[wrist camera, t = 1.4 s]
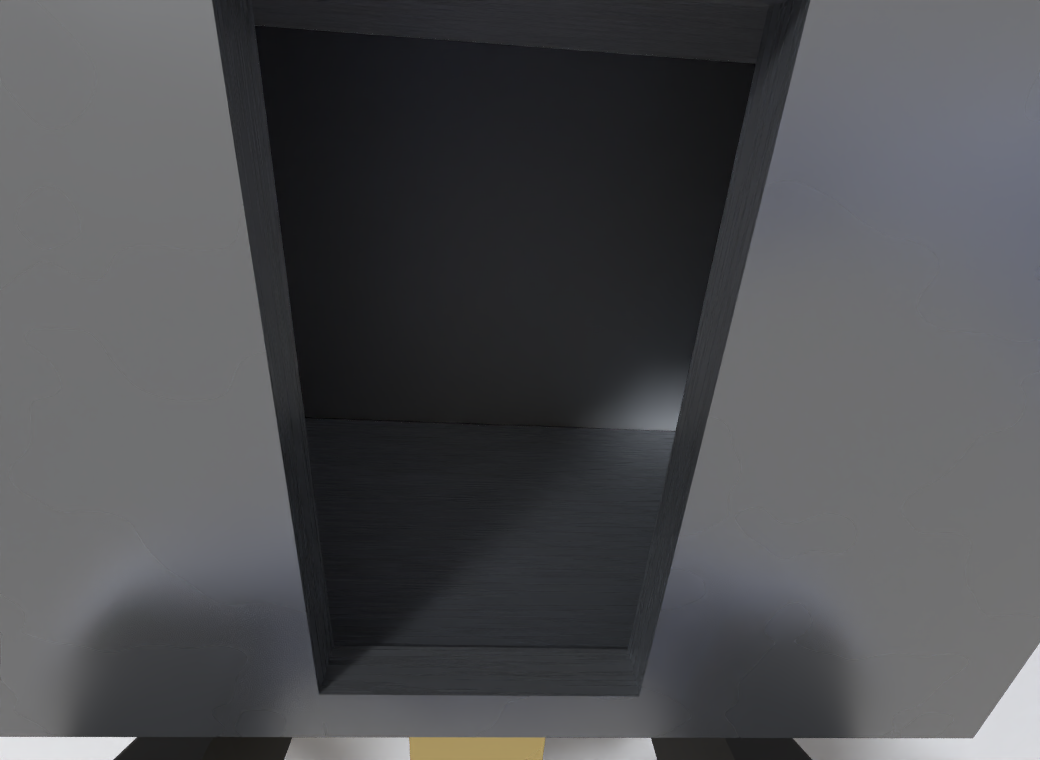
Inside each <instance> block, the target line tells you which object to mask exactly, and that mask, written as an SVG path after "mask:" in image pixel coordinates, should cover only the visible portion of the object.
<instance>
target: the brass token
mask: <svg viewBox="0 0 1040 760" xmlns="http://www.w3.org/2000/svg"><path fill="white" fill-rule="evenodd" d="M409 741H410V760H542V759H543V752H544V744H545V737H409Z"/></svg>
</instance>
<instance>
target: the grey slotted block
mask: <svg viewBox="0 0 1040 760" xmlns="http://www.w3.org/2000/svg"><path fill="white" fill-rule="evenodd" d="M255 26H267V27H280V28H293V29H306V30H319V31H332V32H346V33H359V34H372V35H385V36H398V37H411V38H424V39H437V40H450V41H463V42H476V43H489V44H502V45H516V46H529V47H542V48H555V49H568V50H581V51H594V52H607V53H620V54H633V55H646V56H659V57H673V58H686V59H699V60H712V61H725V62H738V63H751V64H756V66H755V70H754V75H753V79H752V84H751V88H750V93H749V98H748V102H747V107H746V111H745V116H744V120H743V125H742V130H741V134H740V139H739V143H738V148H737V152H736V157H735V162H734V166H733V171H732V175H731V180H730V184H729V189H728V194H727V198H726V203H725V207H724V212H723V216H722V221H721V226H720V230H719V235H718V239H717V244H716V248H715V253H714V258H713V262H712V267H711V271H710V276H709V281H708V285H707V290H706V294H705V299H704V303H703V308H702V313H701V317H700V322H699V326H698V331H697V335H696V340H695V345H694V349H693V354H692V358H691V363H690V367H689V372H688V377H687V381H686V386H685V390H684V395H683V399H682V404H681V409H680V413H679V418H678V422H677V427H676V431H656V430H627V429H599V428H571V427H542V426H514V425H486V424H458V423H429V422H401V421H373V420H344V419H316V418H305V416H304V409H303V401H302V393H301V385H300V377H299V369H298V361H297V354H296V346H295V338H294V330H293V322H292V314H291V306H290V299H289V291H288V283H287V275H286V267H285V259H284V252H283V244H282V236H281V228H280V220H279V212H278V204H277V197H276V189H275V181H274V173H273V165H272V157H271V149H270V142H269V134H268V126H267V118H266V110H265V102H264V95H263V87H262V79H261V71H260V63H259V55H258V47H257V40H256V32H255ZM1039 643H1040V0H0V737H550V738H973V737H974V736H975V735H976V733H977V732H978V730H979V729H980V727H981V726H982V725H983V723H984V722H985V720H986V719H987V717H988V716H989V715H990V713H991V712H992V710H993V709H994V707H995V706H996V705H997V703H998V702H999V700H1000V699H1001V697H1002V696H1003V695H1004V693H1005V692H1006V690H1007V689H1008V687H1009V686H1010V684H1011V683H1012V682H1013V680H1014V679H1015V677H1016V676H1017V674H1018V673H1019V672H1020V670H1021V669H1022V667H1023V666H1024V664H1025V663H1026V662H1027V660H1028V659H1029V657H1030V656H1031V654H1032V653H1033V652H1034V650H1035V649H1036V647H1037V646H1038V644H1039Z"/></svg>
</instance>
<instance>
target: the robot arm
mask: <svg viewBox="0 0 1040 760" xmlns="http://www.w3.org/2000/svg"><path fill="white" fill-rule="evenodd" d="M291 739H292V737H137V738H136V739H135V740H134V741H133V742H132V743H131V744H130V745H129V746H127V747H126V748H125V749H124V750H123V751H122V752H121V753H120V754H119V755H118V756H117V757H116V758H115V759H114V760H284V758H285V755H286V753H287V750H288V747H289V744H290V742H291ZM651 739H652V743H653V746H654V750H655V753H656V757H657V760H812V759H811V758H810V757H809V756H808V755H807V754H806V752H805V751H804V750H803V749H802V748H801V747H800V746H799V745H798V744H797V743H796V742H795V740H794V739H793V738H651Z"/></svg>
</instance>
